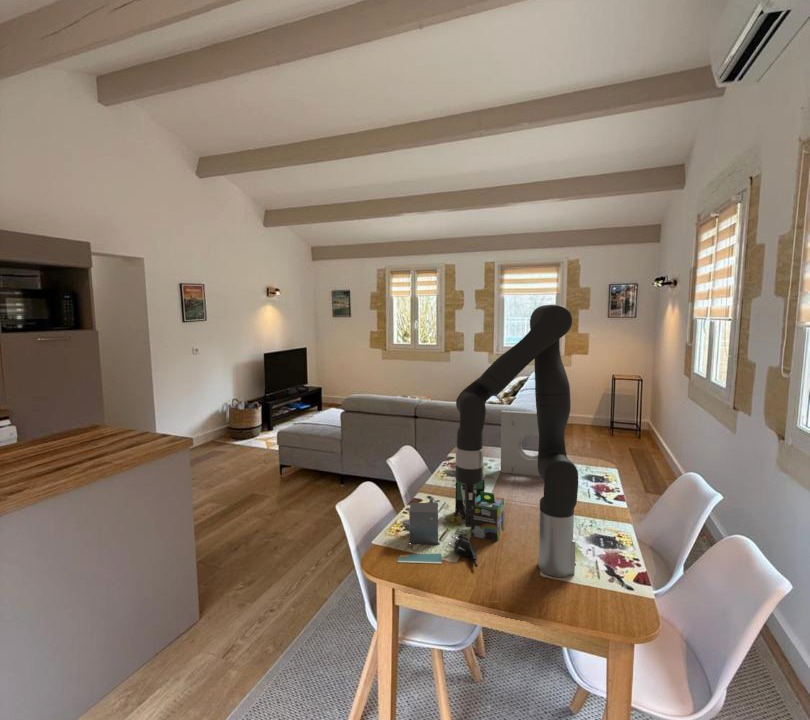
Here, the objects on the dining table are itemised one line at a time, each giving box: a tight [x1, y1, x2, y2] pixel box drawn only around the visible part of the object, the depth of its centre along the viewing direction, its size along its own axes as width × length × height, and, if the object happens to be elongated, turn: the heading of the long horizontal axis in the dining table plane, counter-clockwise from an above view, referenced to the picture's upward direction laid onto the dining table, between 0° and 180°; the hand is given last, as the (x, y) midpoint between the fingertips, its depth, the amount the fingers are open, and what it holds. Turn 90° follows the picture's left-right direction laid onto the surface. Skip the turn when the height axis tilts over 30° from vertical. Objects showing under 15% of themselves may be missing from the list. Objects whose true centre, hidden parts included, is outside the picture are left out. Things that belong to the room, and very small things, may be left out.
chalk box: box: [470, 491, 505, 542], centre depth 145 cm, size 9×9×15 cm
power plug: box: [447, 534, 478, 568], centre depth 130 cm, size 6×8×12 cm
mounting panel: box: [500, 410, 541, 477], centre depth 192 cm, size 27×5×30 cm, turn 73°
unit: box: [408, 502, 441, 546], centre depth 142 cm, size 10×8×11 cm
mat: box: [397, 553, 443, 565], centre depth 133 cm, size 13×9×1 cm
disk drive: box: [454, 477, 486, 517], centre depth 157 cm, size 10×3×15 cm, turn 78°
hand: (468, 519), depth 123 cm, fingers open, 8 cm apart
